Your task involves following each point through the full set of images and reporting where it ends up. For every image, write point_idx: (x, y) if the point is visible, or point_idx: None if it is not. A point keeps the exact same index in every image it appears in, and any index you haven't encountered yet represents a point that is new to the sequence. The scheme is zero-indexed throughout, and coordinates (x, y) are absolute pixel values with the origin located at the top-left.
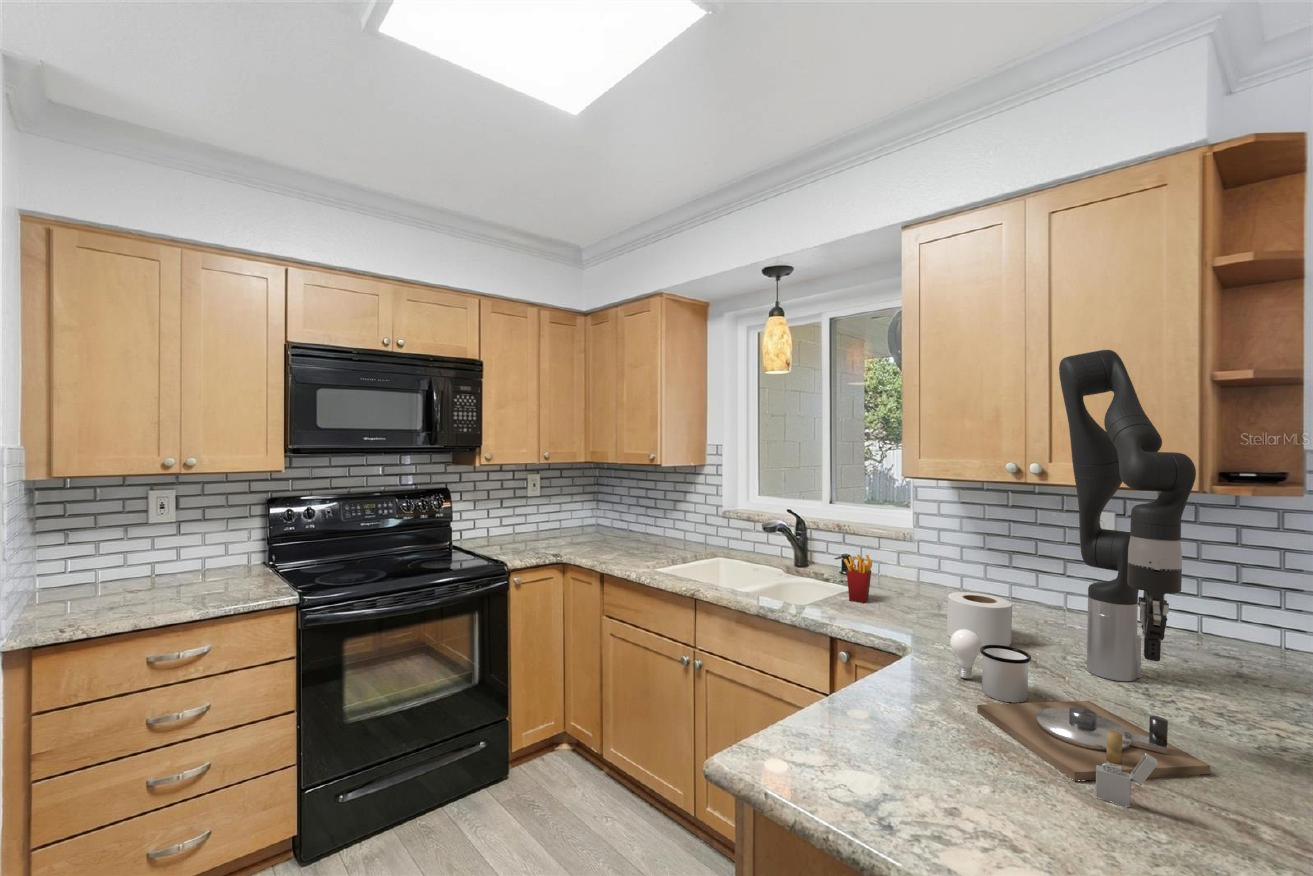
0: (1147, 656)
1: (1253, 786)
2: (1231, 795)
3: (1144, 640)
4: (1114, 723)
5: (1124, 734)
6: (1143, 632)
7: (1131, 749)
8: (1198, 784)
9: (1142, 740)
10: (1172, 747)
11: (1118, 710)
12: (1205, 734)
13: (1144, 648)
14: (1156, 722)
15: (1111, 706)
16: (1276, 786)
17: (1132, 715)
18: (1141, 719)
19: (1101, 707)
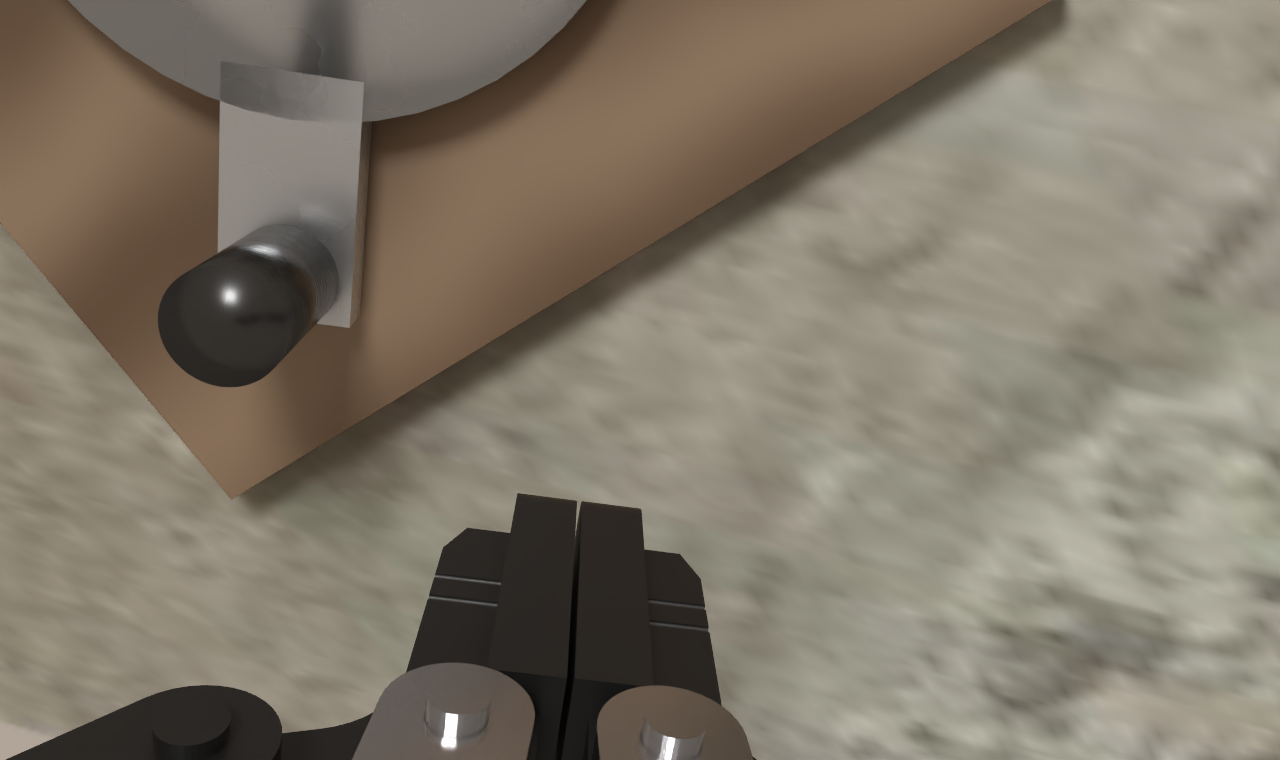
0: (487, 533)
1: (233, 632)
2: (34, 499)
3: (568, 644)
4: (503, 45)
5: (301, 71)
6: (647, 735)
7: None
8: (68, 378)
9: (259, 178)
10: (398, 365)
11: (1104, 200)
12: (877, 618)
13: (536, 562)
14: (166, 296)
15: (1172, 167)
16: (304, 728)
17: (1037, 276)
18: (981, 317)
19: (970, 49)
